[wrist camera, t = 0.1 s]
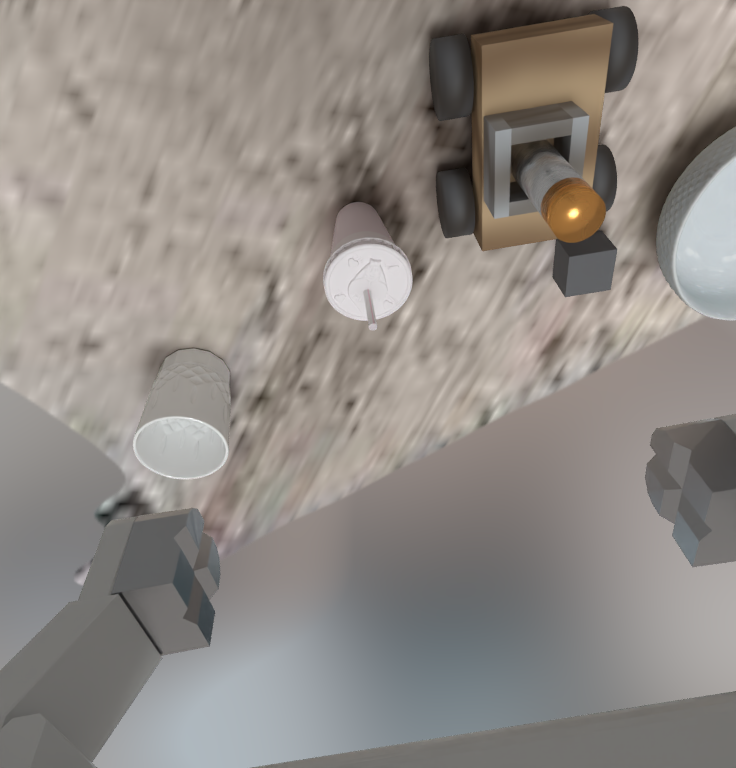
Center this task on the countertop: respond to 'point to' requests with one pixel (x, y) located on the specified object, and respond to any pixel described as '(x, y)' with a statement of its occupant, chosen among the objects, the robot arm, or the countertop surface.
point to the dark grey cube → (584, 265)
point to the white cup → (186, 417)
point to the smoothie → (365, 267)
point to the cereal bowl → (703, 231)
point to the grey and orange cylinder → (557, 191)
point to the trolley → (528, 115)
